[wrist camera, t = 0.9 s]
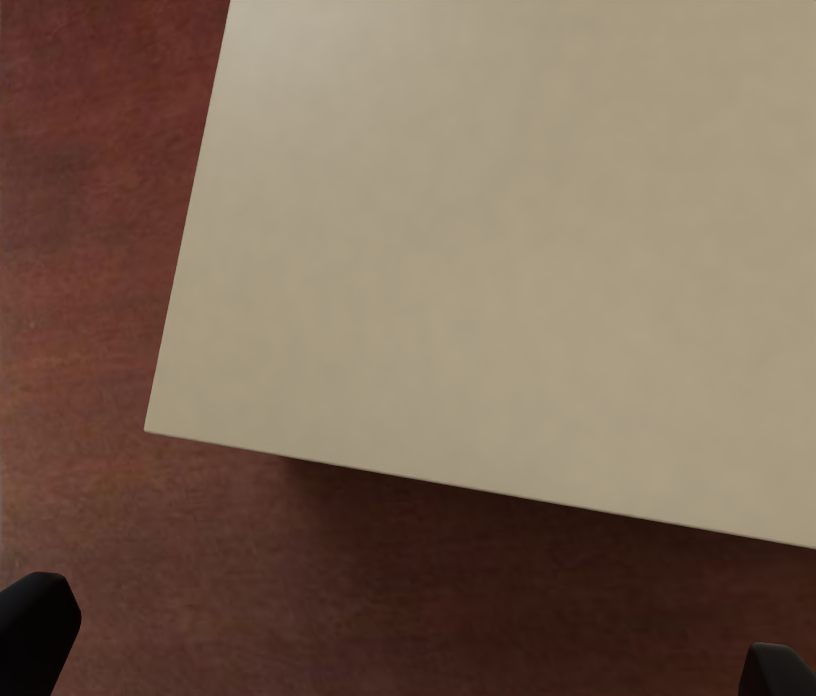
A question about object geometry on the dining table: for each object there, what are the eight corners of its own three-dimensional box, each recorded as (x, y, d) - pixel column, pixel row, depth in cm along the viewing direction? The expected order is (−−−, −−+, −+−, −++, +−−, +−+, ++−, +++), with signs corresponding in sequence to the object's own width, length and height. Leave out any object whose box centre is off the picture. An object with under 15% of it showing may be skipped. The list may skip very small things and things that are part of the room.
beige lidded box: (914, 545, 19) (1167, 611, 12) (272, 437, 24) (141, 432, 16) (949, 29, 21) (1186, -212, 14) (349, 11, 25) (266, -181, 18)
